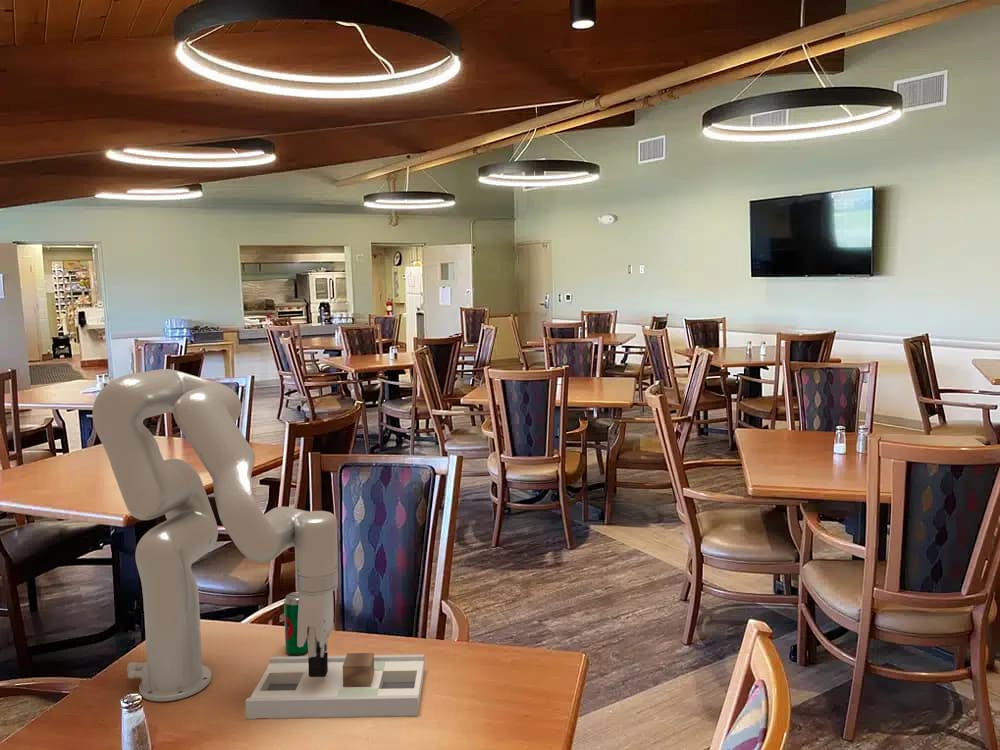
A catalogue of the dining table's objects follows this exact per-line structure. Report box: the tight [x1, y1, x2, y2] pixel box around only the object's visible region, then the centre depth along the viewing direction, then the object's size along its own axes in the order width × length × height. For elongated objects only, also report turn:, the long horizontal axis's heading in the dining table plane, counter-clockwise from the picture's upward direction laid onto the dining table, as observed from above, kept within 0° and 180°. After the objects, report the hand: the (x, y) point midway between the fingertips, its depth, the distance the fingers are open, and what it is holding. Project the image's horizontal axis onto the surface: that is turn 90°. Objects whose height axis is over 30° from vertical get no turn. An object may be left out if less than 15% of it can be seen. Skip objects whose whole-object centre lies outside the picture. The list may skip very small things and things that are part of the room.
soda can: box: [283, 591, 308, 657], centre depth 154 cm, size 5×5×12 cm
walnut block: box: [343, 652, 375, 687], centre depth 138 cm, size 5×5×4 cm
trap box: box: [245, 653, 426, 720], centre depth 138 cm, size 30×16×3 cm, turn 91°
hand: (318, 674), depth 138 cm, fingers closed
